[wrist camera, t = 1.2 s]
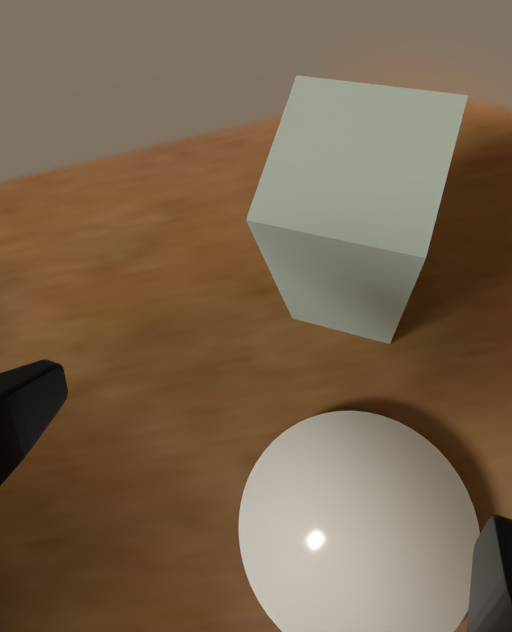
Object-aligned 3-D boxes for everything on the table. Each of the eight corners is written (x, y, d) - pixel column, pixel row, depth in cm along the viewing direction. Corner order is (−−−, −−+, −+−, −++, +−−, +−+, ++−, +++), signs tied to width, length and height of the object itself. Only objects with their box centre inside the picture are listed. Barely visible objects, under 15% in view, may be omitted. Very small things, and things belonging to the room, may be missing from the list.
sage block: (414, 251, 23) (467, 95, 13) (389, 344, 22) (425, 258, 12) (319, 231, 24) (296, 75, 14) (292, 318, 23) (245, 220, 13)
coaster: (527, 565, 18) (539, 573, 17) (331, 708, 19) (330, 725, 17) (371, 370, 22) (372, 366, 21) (205, 492, 22) (197, 495, 21)
